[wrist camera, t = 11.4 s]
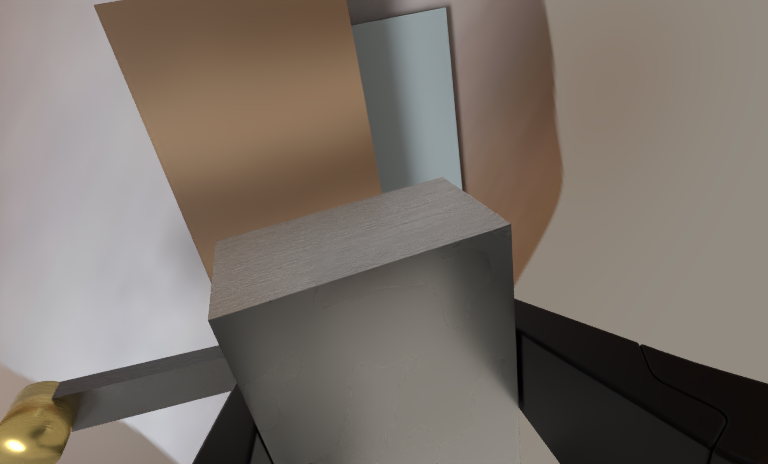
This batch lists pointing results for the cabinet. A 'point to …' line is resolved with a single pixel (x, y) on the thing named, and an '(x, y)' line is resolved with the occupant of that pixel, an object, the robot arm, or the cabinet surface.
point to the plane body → (247, 108)
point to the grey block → (375, 331)
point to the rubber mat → (409, 98)
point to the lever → (105, 401)
